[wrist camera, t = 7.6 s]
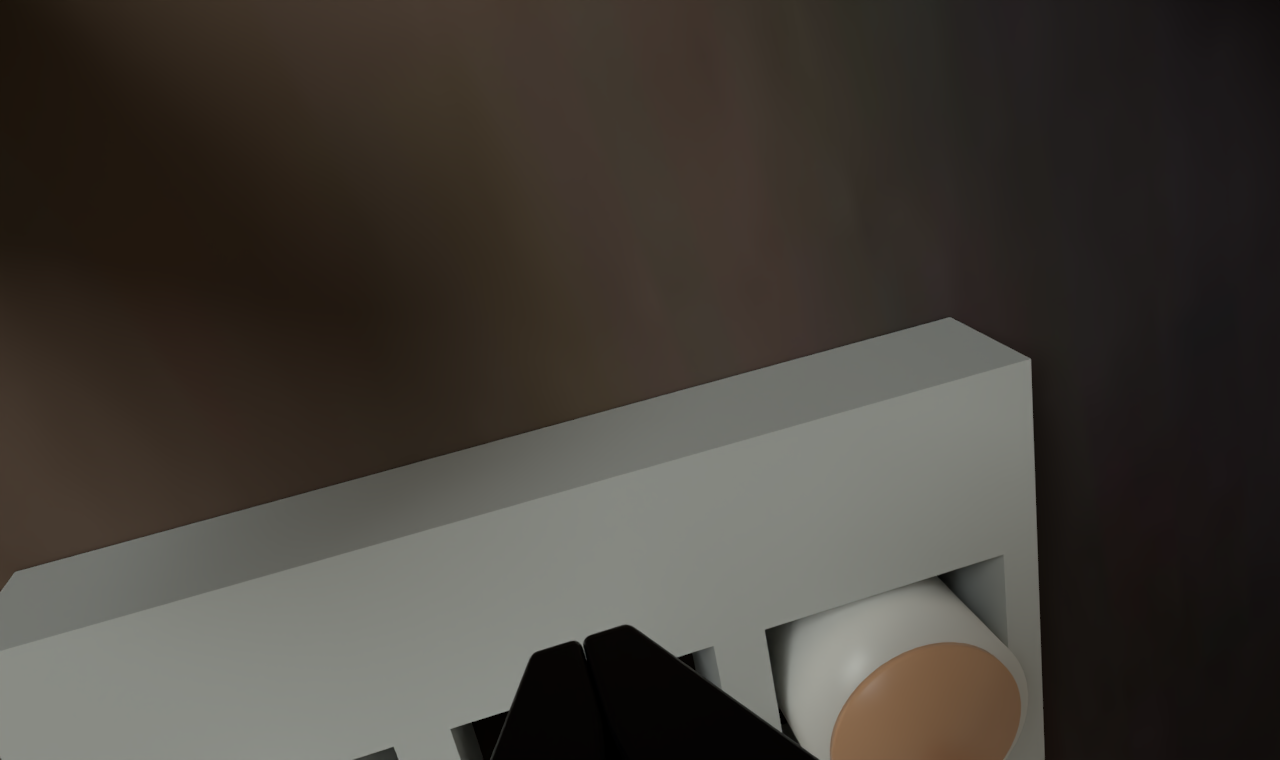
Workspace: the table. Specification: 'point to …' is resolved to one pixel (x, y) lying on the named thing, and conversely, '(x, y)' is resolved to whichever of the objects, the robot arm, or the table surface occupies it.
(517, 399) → the table surface
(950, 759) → the button
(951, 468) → the board
